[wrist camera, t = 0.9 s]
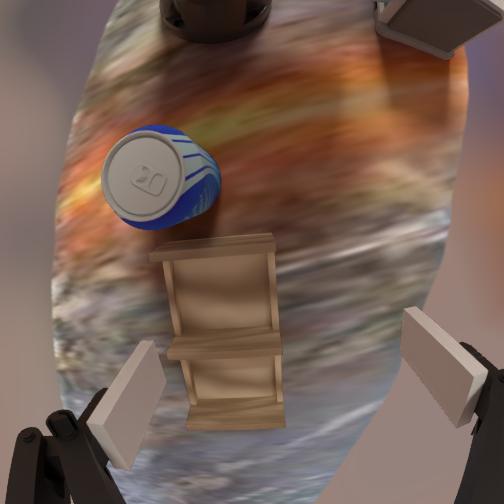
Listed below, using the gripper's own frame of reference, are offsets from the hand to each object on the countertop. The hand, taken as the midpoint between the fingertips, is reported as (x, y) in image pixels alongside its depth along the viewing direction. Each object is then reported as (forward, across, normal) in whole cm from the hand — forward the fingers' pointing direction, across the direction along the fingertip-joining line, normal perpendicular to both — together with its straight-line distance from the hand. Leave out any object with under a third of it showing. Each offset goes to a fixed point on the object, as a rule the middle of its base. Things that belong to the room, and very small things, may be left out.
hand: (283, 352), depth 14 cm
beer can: (+23, -8, +10) cm, 27 cm away
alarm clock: (+24, +28, +36) cm, 52 cm away
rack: (+23, -6, -9) cm, 25 cm away
